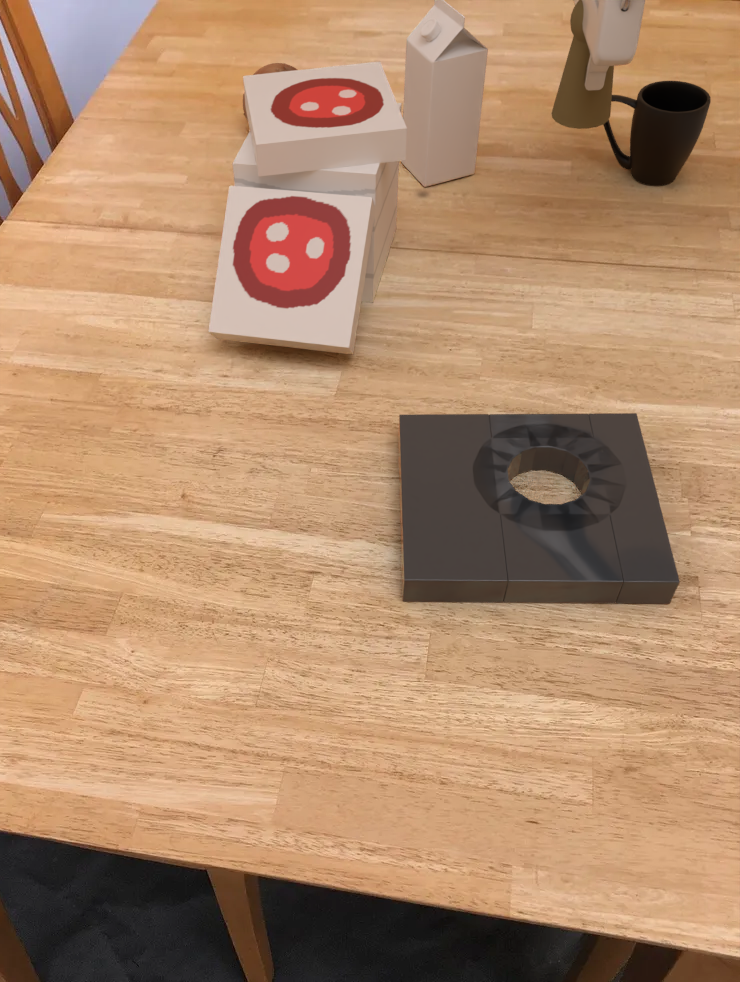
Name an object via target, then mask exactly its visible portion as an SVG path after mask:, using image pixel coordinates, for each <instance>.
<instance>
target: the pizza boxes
mask: <svg viewBox="0 0 740 982" xmlns="http://www.w3.org/2000/svg"><path fill="white" fill-rule="evenodd" d="M242 81H243V94H244V95H245V107H246V112H247V118H248V121H247V123H248V127H249V132H248V134H246V137H245V139H244V141H243V143H242V144H241V146H240V148H239V150H238V152H237V154H236V155H235V157H234V159H233V161H232V164H231V165H232V173H233V182H234V183H233V185H229V186H228V191H227V199H226V205H225V214H224V220H223V227H222V234H221V241H220V247H219V254H218V261H217V268H216V274H215V283H214V289H213V297H212V303H211V309H210V316H209V317H210V318H209V325H208V330H207V332H208V333H209V334H210V335H212V336H213V338H215V339H216V340H223V341H230V342H231V341H232V342H241V343H251V344H258V345H259V344H260V345H267V346H275V347H284V348H291V349H293V348H294V349H302V350H308V351H309V350H311V351H319V352H328V353H336V354H345V355H354V352H355V345H356V338H357V332H358V326H359V319H360V312H361V306H362V303H372V304H373V303H374V301H375V298H376V294H377V292H378V288H379V285H380V282H381V279H382V275H383V273H384V269H385V267H386V263H387V259H388V257H389V254H390V250H391V247H392V244H393V240H394V237H395V235H396V232H397V221H398V220H397V219H398V197H399V176H400V175H399V174H400V162H401V161H403V160H405V154H406V136H407V127H406V125H405V122H404V120H403V114H402V105H403V103H402V102H397V100H396V97H395V94H394V92H393V89H392V87H391V85H390V82H389V79H388V77H387V75H386V72H385V70H384V67H383V64H382V62H381V61H380V60H379V61H370V62H369V61H368V62H361V63H351V64H350V63H349V64H342V65H341V64H340V65H332V66H323V67H314V68H305V69H297V70H294V71H285V72H275V73H266V74H257V75H253V74H249V75H242Z"/></svg>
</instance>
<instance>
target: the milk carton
mask: <svg viewBox="0 0 740 982" xmlns="http://www.w3.org/2000/svg"><path fill="white" fill-rule="evenodd" d="M465 21H466V15H465V16H464V15H463V14H462V13H461V12H460V11H458V9H456V8H454V6H452V5H451V4H449V3H448V2H447V1H446V0H434V3H433V5H432V7H431V8H430V9H429V10H428V11H427V13H425V15H424V16H423V17H422V18H421V20H420V21H419V22H418V23H417V25H416V26H415V28H413V30H412V31H411V32H410V33H409V35H408V36H407V37H406V42H405V58H404V60H405V61H404V80H403V81H404V86H403V103H402V105H403V109H402V117H403V120H404V122H405V125H406V127H407V136H406V154H405V160H403V161H400V162H401V164H402V165H403V166H404V167H405V168H406V169H407V170H408V172H410V174H412V176H414V178H415V179H416V180H417V181H418V182H419V183H420V184H421V186H423V187H424V188H426V187H430V186H431V187H432V186H434V185H437V184H438V185H439V184H443V183H445V182H449V181H453V180H457V179H460V178H464V177H469V176H471V175H475V171H476V163H477V156H478V146H479V135H480V128H481V117H482V110H483V109H482V108H483V100H484V90H485V81H486V71H487V63H488V53H489V48H488V47H486V45H484V44H483V43H482V42H481V41H480V40H479V39H477V37H476V36H474V35H473V34H472V33H471V32H470V31H468V29H466V28H465Z"/></svg>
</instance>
